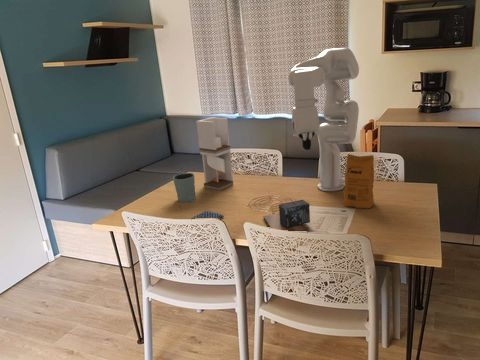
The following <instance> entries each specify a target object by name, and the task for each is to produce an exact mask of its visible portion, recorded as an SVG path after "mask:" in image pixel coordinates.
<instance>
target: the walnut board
mask: <svg viewBox="0 0 480 360" xmlns="http://www.w3.org/2000/svg"><path fill="white" fill-rule="evenodd" d="M263 221H264V222H265V224H266V225H267V226H268V228H269V227H271V228H276V229H281V230H288V231H308V232H309V228H308V227H307V226H306V225H305V224H301V225H297V226H293V227H289V228H285V227H284V226H283V225H281V224H280V214H279V213H274V214H267V215H263Z"/></svg>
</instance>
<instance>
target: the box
mask: <svg viewBox="0 0 480 360" xmlns="http://www.w3.org/2000/svg"><path fill="white" fill-rule="evenodd" d="M278 212H279V213H278V214H280V224H281V225H283V226H284V227H285V228H289V227H293V226H297V225H301V224H304V225H305V224H310V223H311V218H310V217H311V216H310V215H311V213H310V203H309V202H307V201H305V200H304V199H300V200H294V201H290V202H285V203H281V204H278Z"/></svg>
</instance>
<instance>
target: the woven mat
mask: <svg viewBox="0 0 480 360" xmlns="http://www.w3.org/2000/svg"><path fill="white" fill-rule="evenodd" d="M190 218H191V220H192V219H195V218H218V219H220V220H222V219H224V218H225V216H224V214H221V213H219V212H213V211H210V210H207V211H204V212H202V213H199V214H197V215H196V216H195V215H194V216H193V217H190Z"/></svg>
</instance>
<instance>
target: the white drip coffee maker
mask: <svg viewBox="0 0 480 360" xmlns="http://www.w3.org/2000/svg"><path fill="white" fill-rule="evenodd" d="M228 122H229V121H228V118H226V117H214V116H212V117H208V118H203V119H199V120H196V130H197V131H196V132H197V136H198V137H197V138H198V146H199V154H200V155H201V158H202V165H203V167H202V168H203V175H204V176H203V177H204V182H203V187H204V188H208V189H211V190H217V191H221V190H223V189H226V188H229V187H231V186H233V185H234V176H233V166H232V165H233V164H232V154H231V152H232V151H231V144H230V133H229V123H228Z"/></svg>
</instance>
